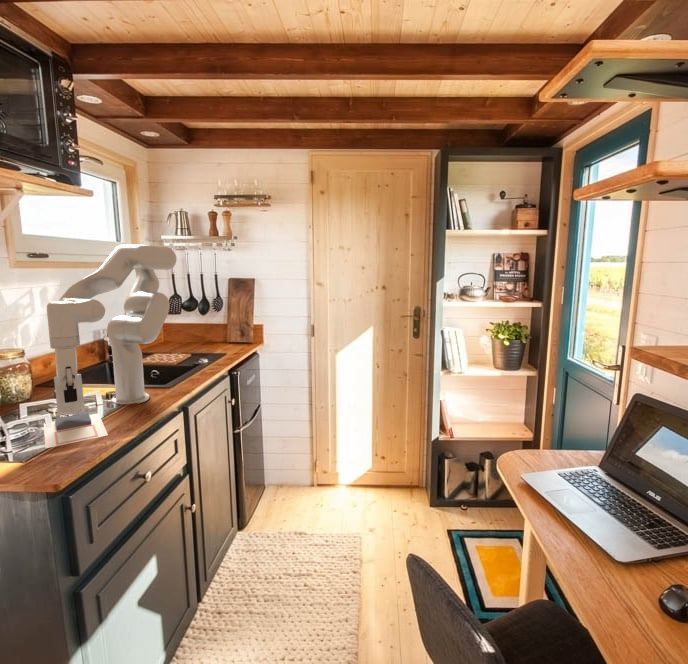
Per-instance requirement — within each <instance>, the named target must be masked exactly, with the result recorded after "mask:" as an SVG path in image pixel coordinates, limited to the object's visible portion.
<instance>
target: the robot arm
mask: <svg viewBox="0 0 688 664" xmlns="http://www.w3.org/2000/svg"><path fill="white" fill-rule="evenodd" d="M176 264H177V255H176V253H175V251H174V249H172V248H170V247H168V246H156V245H149V244H120V245H118V246H116V247H115V248H114V250H113V251H111V253H110V254H109V256H108V257H107V258H106V259H105V260H104V262H103V263H102V264H101V265H100V266H99V268H98V269H97V270H96V271H95V272H93V273H90V274H89V275H87V276H85V277H84V278H82V279H80V280H79V281H77V282H75V283H74V284H72V285H71V286H70V287H69V288H68V289H67V290H66V291H65V292H64V293H63V294H62V296H61V297H60V298H59V299H58V300H57V301H56V300H55V301H51V302H48V303H47V304H46V314H47V315H46V317H47V327H48V336H49V346H50V347H49V348H50V349H53V350H54V360H55V371H56V376H57V379H58V381H61V380H63V379H64V388H65V390H64V399H65V403H68V402H75V401H77V389H76V387H75V379H77V374H78V359H77V348H78V347H81V342H80V341H81V340H80V339H81V338H80V330H79V329H80V328H79V324H85V323H86V324H87V323H88V324H91V323H97V322H99V321H101V320H102V319H103V318H104V316H105V314H106V308H105V306H104V304H103V303H102V302H101V301H99V300H97V299H94V297H96V296H98V295H102V294H105V293H109V292H112V291H116V290H117V289H119V288H121V287H122V285H123V284H124V282H125V281H126V280H127V278H128V277H129V275H130V274H131V273H132V271H134V272H135V280H134V282H133V285H132V287H131V288H130V291H129V292H128V294H127V296H126V298H125V300H124V303H123V310H124V311H125V313H126V314H128V315H117V316H115V317H112V318H111V319H110V320H109V322H107V328H106V332H107V336H108V340H109V342H110V347H111V351H112V352H111V353H112V365H113V376H114V378H113V379H114V387H115V389H114V390H115V391H114V392H115V396H116V398H114V397H115V396H113V397H112V398H111V400H110V401H111V403H112V404H117V405H133V404H138V405H140V404H142V403H144V402H147V401H148V400H149V399H150V394H149V393H147V392H145V379H144V377H145V376H144V366H143V353H142V352H143V351H142V348H141V346H140V344H144V345H146V344H147V345H148V344H151V343H153V342H154V341H155V340H157V339H158V336H159V335H160V332H161V331H162V328H163V325H164V323H165V321H166V319H167V317H168V316H169V312H170V300H169V298H168V296H167V295H165V294H164V293H162V292H158V291H159V288H160V282H159V278H158V276H157V273H156V272H155V270H160V271H161V270H164V271H165V270H166V271H167V270H171V269H172V268H174V267H175V265H176ZM74 375H75V376H74ZM72 377H73V379H72ZM65 378H67V379H65ZM66 382H67V383H66Z"/></svg>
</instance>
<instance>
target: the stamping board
mask: <svg viewBox="0 0 688 664" xmlns="http://www.w3.org/2000/svg"><path fill="white" fill-rule="evenodd" d="M89 416H90V419H91V424H90V425H84V426H79V427H74V428H69V429H63V430H58V431H57V430H56V423H55V420H54V421H51V422H52V427H51V428H47V427H46V424H45V423H46V422H43V431H44V432H43V434H44V444H45V445H44V446H45V447H44V448H45V449H50V448H54V447H59V446H63V445H68V444H73V443H78V442H83V441H88V440H94V439H97V438H102V437H108V436H109V434H108V431H107V429H106V427H105V425H104V423H103V420H102V418H101V414H100V413H93V414H89Z"/></svg>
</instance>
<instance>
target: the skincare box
mask: <svg viewBox="0 0 688 664" xmlns="http://www.w3.org/2000/svg"><path fill="white" fill-rule="evenodd" d="M74 376H75V375H74ZM65 379H67V378H65ZM72 379H73V377H72ZM53 382H54V390H55V391H54V392H55V400H56V411H57V415H58V416H59V415H60V416H61V415H62V416H63V415H66V416H67V415H68V416H72V415H78V414H82V412H83V411H85V409H86V408H85V400H84V390H83V389H84V388H83V378H82V374H81V373H77V379H75V387H76V389H77V401H75V402H68V403H65V399H64V390H65V388H64V379H63V380H61V381H58V379H57V375H56V376H53ZM66 383H67V382H66Z"/></svg>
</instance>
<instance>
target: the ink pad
mask: <svg viewBox="0 0 688 664" xmlns="http://www.w3.org/2000/svg"><path fill="white" fill-rule="evenodd" d="M89 415H90V414H89V412H84V413H79V414H77V415H68V416H67V415H66V416H62V417H56V418H54V421H55V423H56V430H57V431H58V430H63V429H69V428H74V427H79V426H84V425H90V424H91V419H90V416H89Z"/></svg>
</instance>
